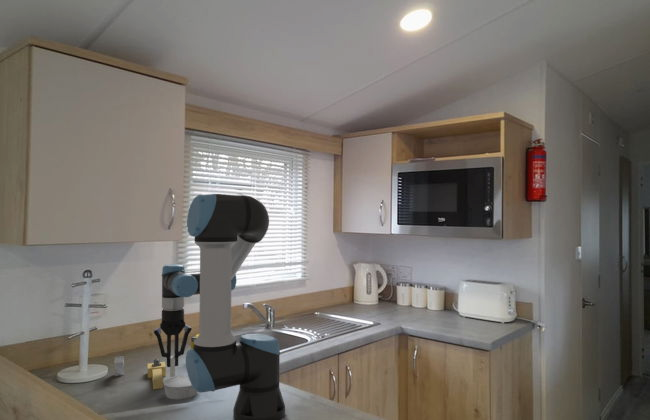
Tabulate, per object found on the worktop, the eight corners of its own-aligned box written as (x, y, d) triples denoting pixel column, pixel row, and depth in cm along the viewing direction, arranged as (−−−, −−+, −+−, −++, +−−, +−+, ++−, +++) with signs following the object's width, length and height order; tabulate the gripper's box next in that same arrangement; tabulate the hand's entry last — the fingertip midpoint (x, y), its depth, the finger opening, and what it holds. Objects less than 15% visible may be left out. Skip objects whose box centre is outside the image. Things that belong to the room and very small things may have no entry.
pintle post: (159, 375, 166) (159, 360, 166) (153, 376, 165) (153, 360, 165) (159, 373, 168) (159, 358, 168) (153, 374, 167) (153, 359, 167)
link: (147, 372, 168) (147, 363, 168) (164, 370, 170) (164, 361, 170) (148, 389, 151) (148, 379, 151) (167, 387, 153) (167, 377, 154)
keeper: (123, 381, 160) (123, 362, 160) (113, 382, 159) (113, 363, 159) (123, 374, 167) (124, 356, 167) (114, 375, 166) (115, 356, 166)
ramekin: (206, 396, 149) (206, 380, 149) (175, 407, 141) (175, 389, 141) (187, 388, 156) (187, 372, 156) (156, 397, 148) (157, 381, 148)
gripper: (191, 305, 168) (190, 370, 167) (153, 307, 163) (152, 374, 162) (193, 309, 161) (192, 376, 160) (153, 311, 156) (152, 381, 155)
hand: (172, 375), depth 161 cm, fingers closed
